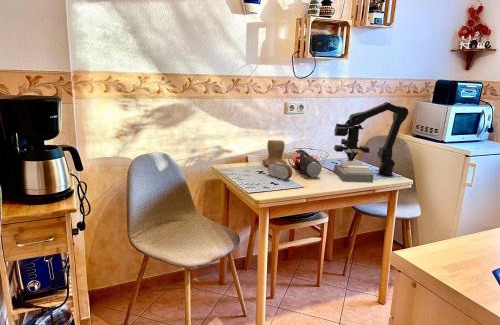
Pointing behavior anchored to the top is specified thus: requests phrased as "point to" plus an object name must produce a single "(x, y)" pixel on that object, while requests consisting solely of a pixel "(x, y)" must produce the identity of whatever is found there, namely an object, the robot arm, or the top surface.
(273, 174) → the brown grey oval slab
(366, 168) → the toggle
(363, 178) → the switch box
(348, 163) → the toggle
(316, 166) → the dark grey cylinder
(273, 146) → the brown flared block
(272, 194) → the top surface
